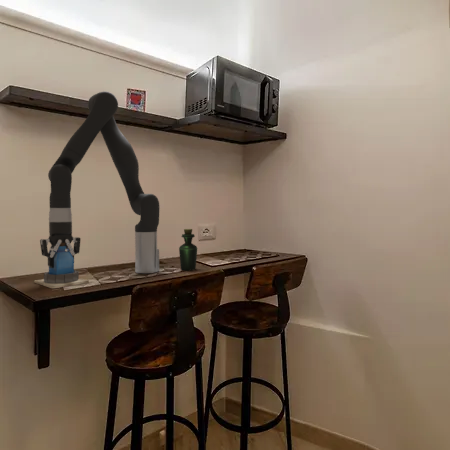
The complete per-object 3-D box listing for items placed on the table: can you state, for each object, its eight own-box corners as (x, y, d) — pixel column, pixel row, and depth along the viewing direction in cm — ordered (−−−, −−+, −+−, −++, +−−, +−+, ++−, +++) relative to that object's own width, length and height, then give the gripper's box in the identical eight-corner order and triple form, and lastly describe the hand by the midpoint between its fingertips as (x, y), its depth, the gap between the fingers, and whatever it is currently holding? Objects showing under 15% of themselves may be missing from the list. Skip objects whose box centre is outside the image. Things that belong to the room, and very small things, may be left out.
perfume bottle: (74, 275, 130) (73, 242, 129) (57, 277, 125) (56, 243, 125) (65, 273, 134) (65, 241, 133) (48, 275, 129) (48, 242, 128)
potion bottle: (187, 271, 153) (187, 229, 152) (175, 269, 158) (175, 229, 157) (201, 269, 159) (201, 229, 158) (188, 267, 164) (188, 228, 163)
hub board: (69, 277, 139) (69, 267, 139) (88, 282, 130) (88, 272, 129) (34, 282, 130) (34, 272, 129) (52, 288, 120) (52, 277, 120)
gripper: (44, 221, 121) (45, 270, 121) (84, 220, 132) (85, 265, 132) (35, 220, 126) (36, 268, 126) (74, 220, 137) (75, 263, 137)
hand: (61, 266), depth 129 cm, fingers closed on perfume bottle, 6 cm apart
